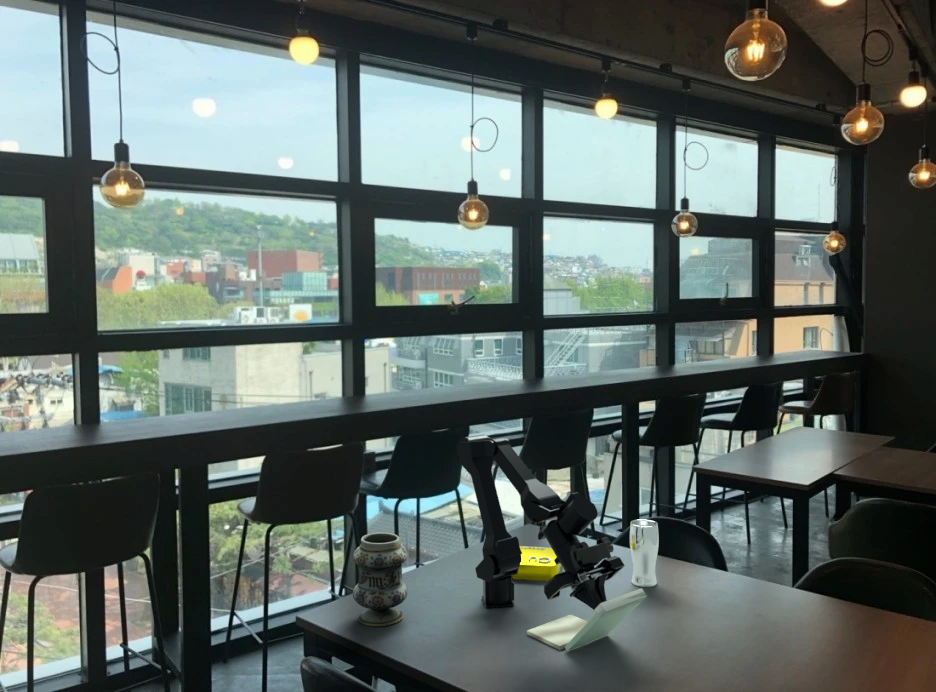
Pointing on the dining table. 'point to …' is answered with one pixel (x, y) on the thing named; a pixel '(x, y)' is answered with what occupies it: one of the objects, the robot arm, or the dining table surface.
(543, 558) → the element tile
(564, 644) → the plate
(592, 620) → the panel
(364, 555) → the apothecary jar
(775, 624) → the dining table surface
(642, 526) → the beer glass
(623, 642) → the dining table surface
